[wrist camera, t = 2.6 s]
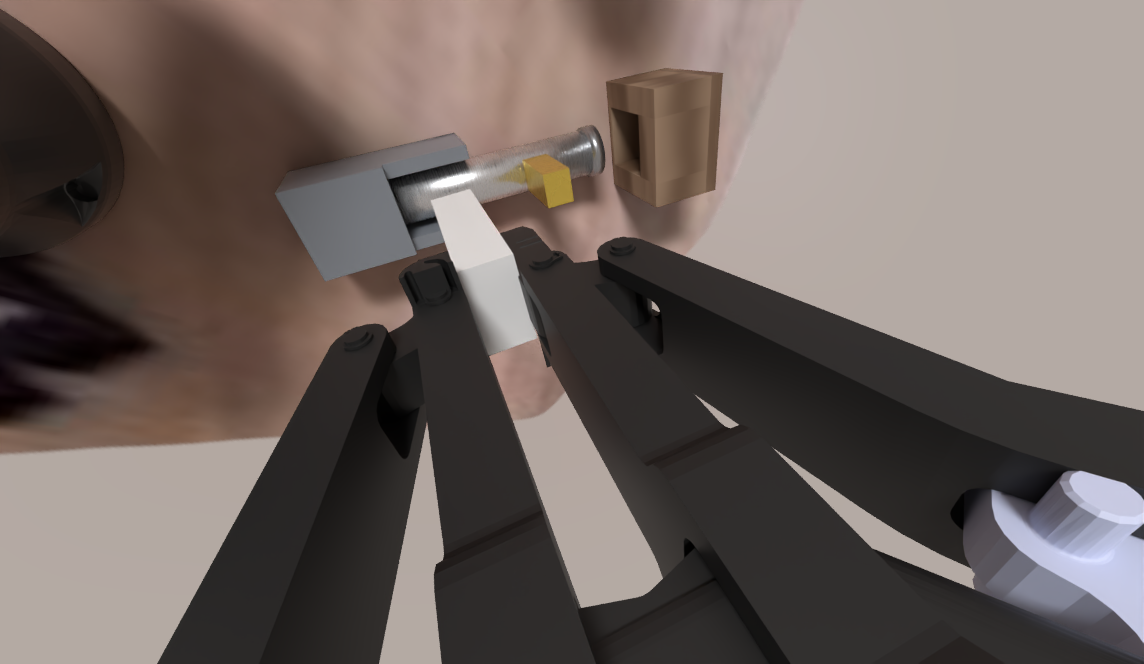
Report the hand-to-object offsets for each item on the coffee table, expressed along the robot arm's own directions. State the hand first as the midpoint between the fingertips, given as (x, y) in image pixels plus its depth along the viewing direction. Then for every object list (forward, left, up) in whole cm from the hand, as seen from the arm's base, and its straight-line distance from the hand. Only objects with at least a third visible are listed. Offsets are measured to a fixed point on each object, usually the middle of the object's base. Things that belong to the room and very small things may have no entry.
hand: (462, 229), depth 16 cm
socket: (+19, -4, -23) cm, 30 cm away
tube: (+3, -4, -23) cm, 23 cm away
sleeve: (-3, -4, -23) cm, 23 cm away
